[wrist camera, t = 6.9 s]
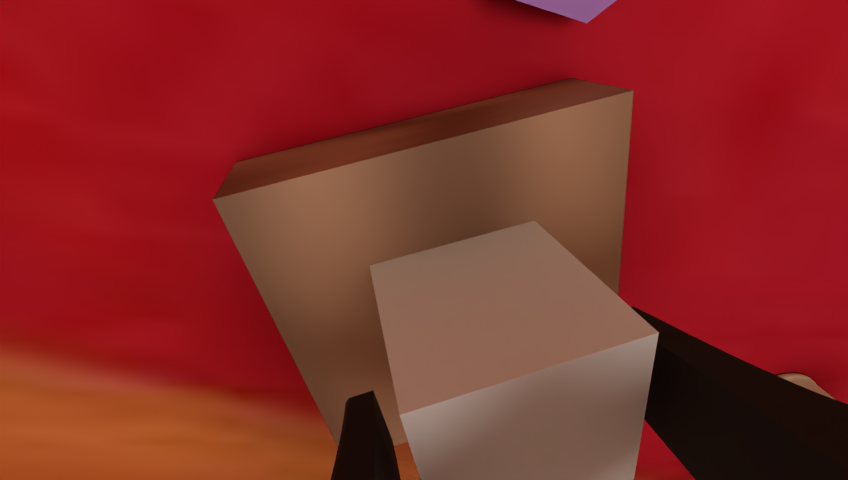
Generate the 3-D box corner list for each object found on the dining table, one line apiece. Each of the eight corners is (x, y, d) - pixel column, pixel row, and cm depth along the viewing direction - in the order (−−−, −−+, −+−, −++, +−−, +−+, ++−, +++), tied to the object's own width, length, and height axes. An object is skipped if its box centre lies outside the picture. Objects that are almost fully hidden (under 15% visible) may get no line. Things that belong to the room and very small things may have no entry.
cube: (404, 384, 14) (442, 548, 9) (369, 265, 11) (399, 415, 7) (539, 342, 14) (633, 479, 10) (534, 220, 12) (658, 332, 7)
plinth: (342, 398, 17) (345, 462, 15) (235, 162, 12) (212, 199, 9) (571, 324, 19) (612, 372, 16) (571, 77, 13) (633, 90, 10)
